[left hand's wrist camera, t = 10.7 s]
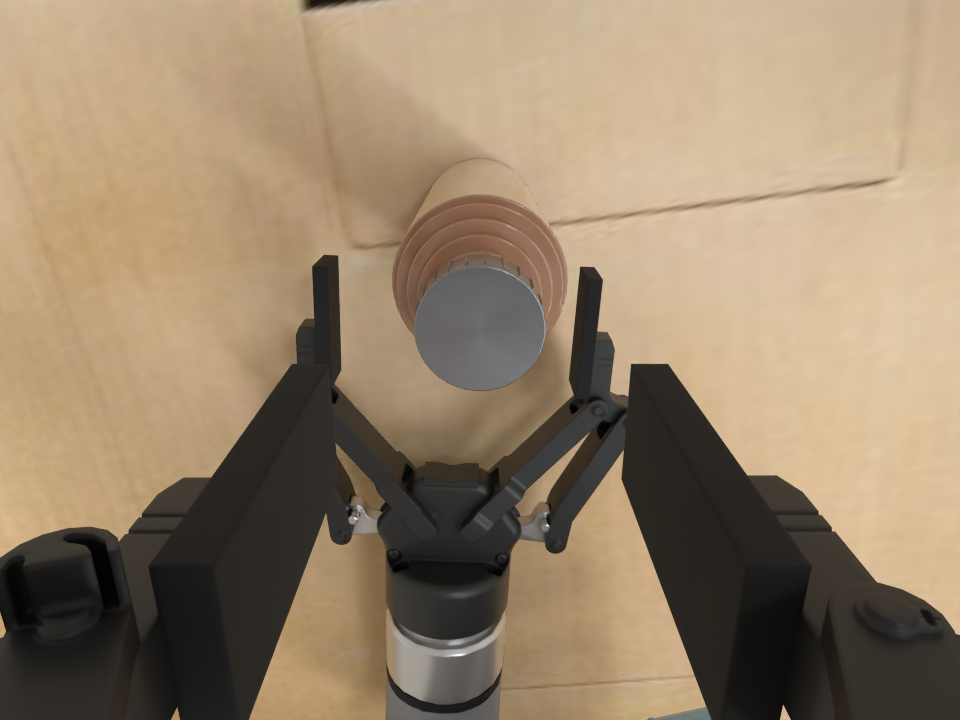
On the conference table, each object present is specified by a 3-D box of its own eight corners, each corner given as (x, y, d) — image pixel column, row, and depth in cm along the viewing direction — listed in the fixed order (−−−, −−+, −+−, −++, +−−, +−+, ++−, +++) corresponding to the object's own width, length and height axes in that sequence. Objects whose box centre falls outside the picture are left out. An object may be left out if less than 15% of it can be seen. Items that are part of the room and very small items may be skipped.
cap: (525, 383, 23) (528, 404, 21) (406, 357, 22) (400, 377, 21) (557, 268, 21) (563, 281, 20) (430, 239, 21) (426, 250, 19)
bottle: (519, 281, 42) (555, 442, 22) (414, 257, 41) (355, 400, 22) (548, 173, 39) (615, 246, 20) (436, 146, 39) (393, 194, 19)
